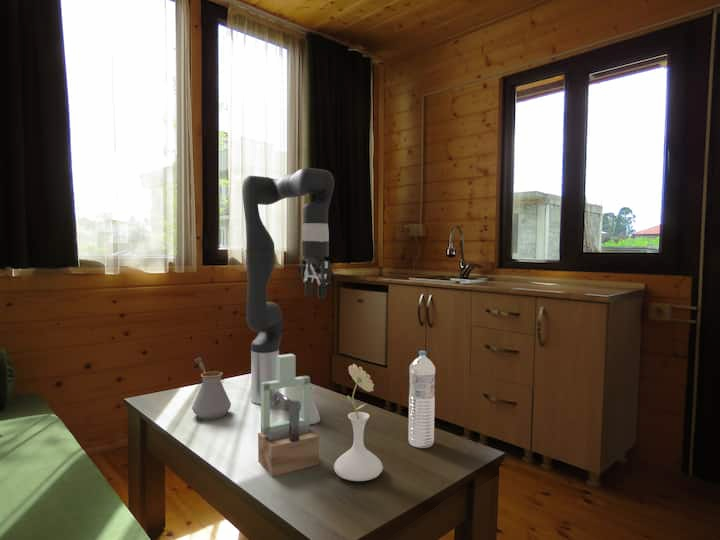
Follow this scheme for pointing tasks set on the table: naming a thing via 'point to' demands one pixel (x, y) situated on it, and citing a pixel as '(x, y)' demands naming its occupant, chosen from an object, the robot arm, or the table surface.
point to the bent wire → (290, 415)
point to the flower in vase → (358, 439)
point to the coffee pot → (211, 396)
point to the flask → (312, 409)
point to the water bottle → (421, 402)
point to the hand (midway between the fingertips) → (315, 296)
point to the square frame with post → (284, 379)
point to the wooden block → (288, 453)
